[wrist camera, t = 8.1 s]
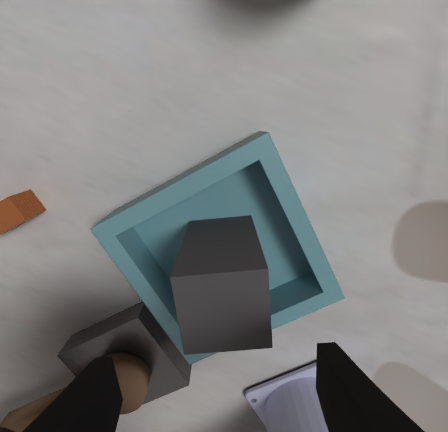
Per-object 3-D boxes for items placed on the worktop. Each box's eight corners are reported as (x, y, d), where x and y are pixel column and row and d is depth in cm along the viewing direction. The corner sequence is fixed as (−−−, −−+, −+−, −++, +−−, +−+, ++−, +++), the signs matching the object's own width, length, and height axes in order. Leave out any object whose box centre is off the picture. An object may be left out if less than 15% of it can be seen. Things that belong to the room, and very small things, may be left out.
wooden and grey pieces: (191, 363, 23) (188, 385, 21) (121, 393, 24) (113, 416, 22) (54, 175, 18) (34, 181, 16) (-27, 223, 19) (-55, 233, 17)
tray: (324, 269, 20) (344, 298, 17) (194, 328, 22) (189, 364, 18) (259, 131, 17) (268, 132, 14) (113, 210, 19) (89, 229, 15)
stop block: (251, 215, 18) (268, 268, 11) (254, 269, 19) (272, 347, 12) (189, 220, 18) (170, 277, 11) (197, 274, 19) (183, 354, 12)
